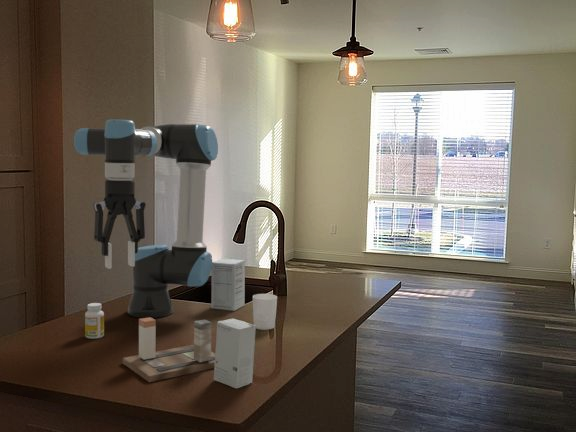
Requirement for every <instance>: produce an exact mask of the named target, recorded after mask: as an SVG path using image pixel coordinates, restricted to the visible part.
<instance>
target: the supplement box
mask: <svg viewBox="0 0 576 432" xmlns="http://www.w3.org/2000/svg"><path fill="white" fill-rule="evenodd" d="M245 262H246V261H245V259H232V258H231V259H230V258H220V259H218V260H215V261H212V268H211V282H210V283H211V284H210V285H211V289H210V290H211V291H210V292H211V298H210V299H211V300H210V301H211V303H210V304H211V307H210V308H211V309H212V310H213V309H215V310H224V311H231V312H232V311H234V312H235V311H237V310H238V309H240V308H242V307H244V306H245V299H246V298H245V294H246V293H245V292H246V291H245V290H246V289H245V284H246V283H245V282H246V281H245V280H246V279H245V277H246V276H245V275H246V273H245V269H246V267H245V266H246V263H245Z"/></svg>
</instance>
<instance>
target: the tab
mask: <svg viewBox="0 0 576 432" xmlns="http://www.w3.org/2000/svg"><path fill="white" fill-rule="evenodd" d="M156 322H157V321H156V318H155V319H154V318H151V317H149V318H138V355H139V357H141V358H142V359H144V360H145V359H150V358H155V352H157V351H156V349H157V348H156V347H157V346H156V343H157V342H156V341H157V340H156V339H157V338H156V333H157V331H156V329H157V325H156V324H157V323H156Z"/></svg>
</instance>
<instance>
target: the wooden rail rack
mask: <svg viewBox="0 0 576 432" xmlns="http://www.w3.org/2000/svg"><path fill="white" fill-rule="evenodd" d="M122 364H123V365H124V366H126V367H127V368H128V369H130V370H131V371H133V372H134V373H135V374H137V375H138V376H140V377H141V378H142V379H144V380H145V381H147V382H148V383H151V382H152V383H153V382H157V381H161V380H165V379H171V378H176V377H179V376H183V375H188V374H195V373H198V372H202V371H206V370H212V369H214V366H215V352H214V351H212V321H209V320H207V319H201V320H200V319H199V320H195V321H193V344H189V345H184V346H178V347H173V348H168V349H163V350H157V351H156V352H155V358H150V359H145V360H144V359H142V358H141V357H139V354H137V355H132V356H125V357H123V358H122Z"/></svg>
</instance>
